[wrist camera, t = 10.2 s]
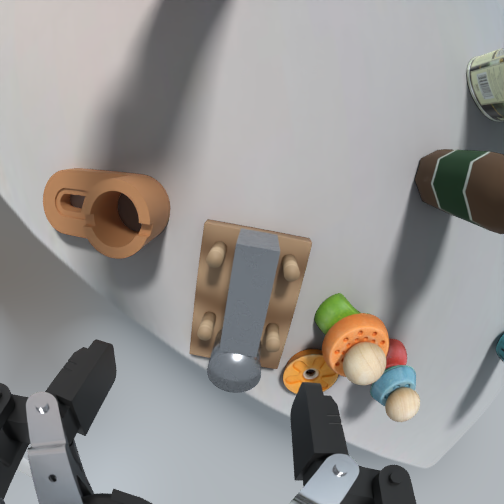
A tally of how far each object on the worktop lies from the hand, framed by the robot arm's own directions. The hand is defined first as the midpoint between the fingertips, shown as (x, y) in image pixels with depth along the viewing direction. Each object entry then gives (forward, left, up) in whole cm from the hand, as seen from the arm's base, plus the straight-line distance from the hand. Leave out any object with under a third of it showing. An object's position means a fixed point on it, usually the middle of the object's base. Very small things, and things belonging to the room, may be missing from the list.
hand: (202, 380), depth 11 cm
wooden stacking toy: (+15, +18, -25) cm, 34 cm away
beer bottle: (-12, +23, -25) cm, 36 cm away
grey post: (+6, +2, -22) cm, 23 cm away
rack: (+8, +2, -24) cm, 26 cm away
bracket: (-1, -18, -25) cm, 31 cm away
